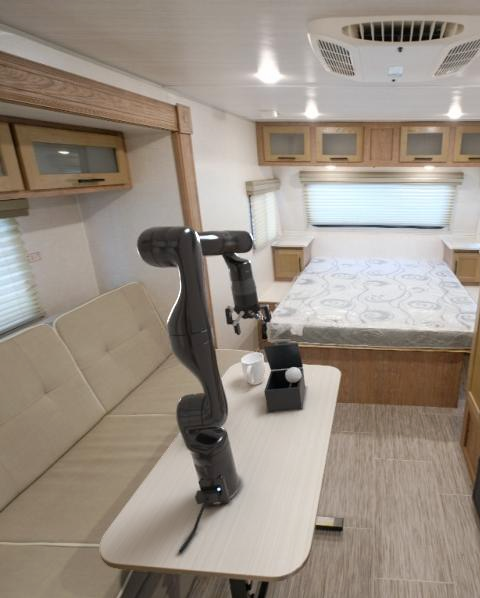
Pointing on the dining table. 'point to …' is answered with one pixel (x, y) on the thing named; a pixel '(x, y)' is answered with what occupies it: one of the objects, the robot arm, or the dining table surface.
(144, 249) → the robot arm
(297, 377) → the lollipop
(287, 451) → the dining table surface
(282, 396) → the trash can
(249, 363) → the mug
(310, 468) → the dining table surface
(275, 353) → the bin lid
